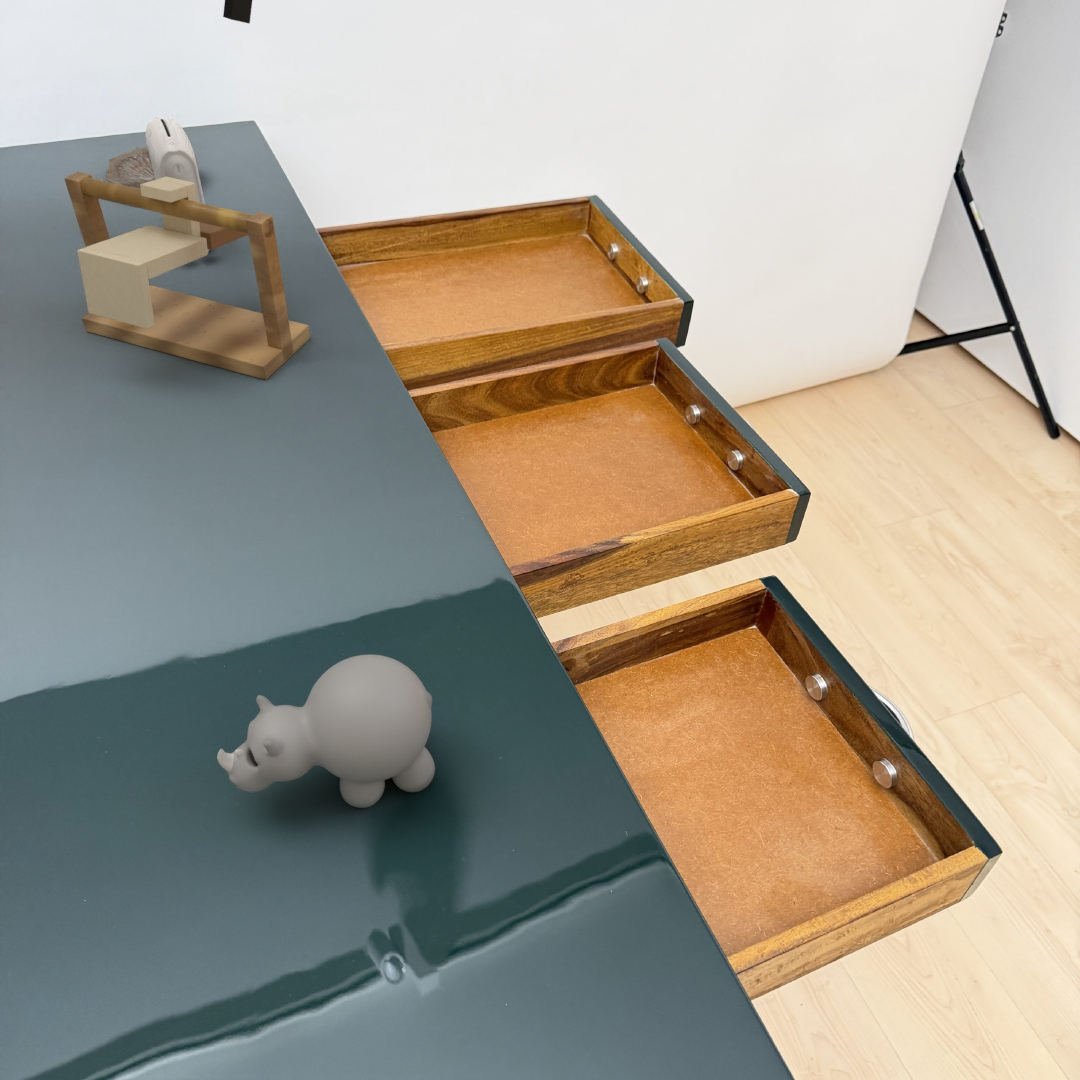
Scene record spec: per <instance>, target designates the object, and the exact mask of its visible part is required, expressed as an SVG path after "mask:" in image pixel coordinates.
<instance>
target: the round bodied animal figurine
mask: <svg viewBox="0 0 1080 1080" xmlns="http://www.w3.org/2000/svg"><path fill="white" fill-rule="evenodd" d="M255 701H256V704H257V706H258V708H259V713H258V714H257V715H256V716H255V718H254V719H252V720H251V721H250V722H249V724H248V728H247V735H246V740H245V741H244V742H243V743H242V744H241V745H239V746H238V747H237V748H236V749H235V750H234V751H232V752H230V753H229V752H226V751H224V749H223V748H220V749H219V751H218V752H217V755H216V756H217V757H216V759H217V763H218V764H219V765H220V767H221V768H222V769H224V770H225V771H226V773H227V775H228V779H229V781H230V782H231V783H232V784H233V785H234V786H235V787H236V788H237V789H239V790H241V791H242V792H245V793H256V792H261V791H263V790H266V789H267V788H269V787H270V786H271V785H272V784H274V783H277V782H292V781H294V780H297V779H300V778H301V777H303V776H304V775H306V774H307V773H308V772H310V770H311V769H312V768H314V767H321V768H324V769H325V770H327V771H328V772H330V774H332V775H334V776H335V777H337V778H339V791H340V794H341V797H342V799H343V800H344V801H345V803H347V804H348V805H350V806H352V807H354V808H359V809H366V808H369V807H372V806H374V805H375V804H376V803H377V802H378V801H379V800H380V799H381V798H382V796H383V795H384V792H385V788H386V781H387V780H389V779H392V781H393V782H394V784H395V785H396V786H397V788H399V790H402V791H404V792H408V793H418V792H421V791H423V790H424V789H426V788H427V787H428V786H429V785H430V783H432V781H433V779H434V776H435V772H436V766H435V762H434V758H433V756H432V755H431V753H430V751H429V750H428V749H427V747H426V745H427V741H428V739H429V735H430V732H431V727H432V720H433V719H432V716H433V715H432V705H433V697H432V694H431V693H430V692H429V691H427V690H426V688H425V686H424V684H423V682H422V681H421V679H420V678H419V677H418V675H417V674H416V673H415V672H414V671H413V670H412V669H410V667H408V666H407V665H405V664H404V663H402V662H400V661H399V660H397V659H395V658H391V657H390V656H385V655H381V654H359V655H355V656H350V657H348V658H345V659H342V660H341V661H339V662H336V663H335V664H334V665H332V666H331V667H329V668H328V669H327V670H326V671H324V673H322V674H321V675H320V677H319V678H318V679H317V680H316V681H315V683H314V684H313V686H312V688H311V690H310V692H309V694H308V697H307V699H306V701H305V703H304V705H302V706H295V705H292V704H291V705H290V704H279V705H274V704H273V703H272V702H271V700H269V698H267V697H266V696H264V695H260V694H257V696H256V699H255ZM385 780H386V781H385Z"/></svg>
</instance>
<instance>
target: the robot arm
mask: <svg viewBox="0 0 1080 1080" xmlns="http://www.w3.org/2000/svg"><path fill="white" fill-rule="evenodd" d="M252 6H253V0H224V4H223V14H222V15H223V16H222V17H223V18H225V19H228V20H231V21H235V22H241V23H246V24H250V23H251V14H252V9H253V7H252Z"/></svg>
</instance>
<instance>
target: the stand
mask: <svg viewBox="0 0 1080 1080" xmlns="http://www.w3.org/2000/svg"><path fill="white" fill-rule="evenodd" d="M64 182H65V186H66V188H67V192H68V195H69V198H70V201H71V205H72V209H73V211H74V213H75V214H74V215H75V218H76V220H77V224H78V227H79V230H80V234H81V238H82V240H83V243H84V245H85V247H87V246H90V245H93V244H96V243H99V242H102V241H105V240H108V239H110V237H111V236H110V234H109V230H108V227H107V224H106V221H105V217H104V214H103V211H102V207H101V203H100V200H103V201H107V202H111V203H115V204H119V205H124V206H129V207H133V208H136V209H141V210H146V211H150V212H154V213H158V214H161V215H162V214H166V215H171V216H175V217H179V218H184V219H188V220H192V221H196V222H201V223H205V224H209V225H214V226H218V227H222V228H226V229H231V230H235V231H239V232H244V233H248V234H249V235H248V239H249V245H250V251H251V257H252V262H253V263H252V264H253V269H254V273H255V279H256V285H257V291H258V296H259V301H260V308H261V312H259V311H254V310H250V309H246V308H242V307H238V306H235V305H230V304H226V303H222V302H219V301H214V300H210V299H207V298H202V297H199V296H195V295H191V294H187V293H183V292H180V291H175V290H171V289H167V288H165V287H164V288H163V287H161V286H155V285H151V284H149V287H150V294H151V302H152V309H153V316H154V323H155V325H154V326H152V327H150V328H148V329H146V328H142V327H139V326H135V325H131V324H127V323H124V322H120V321H116V320H112V319H109V318H105V317H101V316H97V315H93V314H90V313H89V312H87V313H86V314H85V315H83V316H81V322H82V324H83V327H84V331H85V332H88V333H91V334H95V335H98V336H101V337H106V338H109V339H113V340H117V341H121V342H124V343H127V344H132V345H135V346H139V347H143V348H145V349H146V348H147V349H150V350H154V351H158V352H161V353H165V354H168V355H172V356H176V357H180V358H184V359H187V360H191V361H194V362H198V363H202V364H205V365H210V366H213V367H216V368H220V369H224V370H228V371H232V372H236V373H239V374H242V375H247V376H250V377H254V378H256V379H257V378H258V379H261V380H264V381H266V380H268V379H269V378H270V377H271V376H272V375H274V374H275V372H277V370H279V369H280V368H281V367H283V365H284V364H285V363H286V362H287V361H288V360H289V359H290V358H291V357H292V356H293V355H295V354H296V353H297V352H298V351H299V350H300V349H301V348H302V347H303V346H304V345H305V344H306V343H307V342H308V341H309V340H311V333H310V325H309V324H306V323H301V322H298V321H295V320H294V321H293V320H289V315H288V308H287V307H288V306H287V301H286V294H285V288H284V283H283V275H282V274H283V273H282V268H281V263H280V255H279V250H278V242H277V236H276V229H275V223H274V217H273V214H268V213H265V212H259V211H257V212H256V213H254V214H251V213H246V212H242V211H239V210H234V209H229V208H225V207H221V206H215V205H211V204H207V203H205V204H203V203H199V202H194V201H190V200H186V199H181V200H178V201H175V202H171V203H170V202H166V201H162V200H157V199H153V198H149V197H144V196H142V194H141V189H137V188H133V187H129V186H124V185H120V184H116V183H111V182H108V181H107V180H102V179H97V178H93V176H92V174H91V173H87V172H82V171H78V170H77V171H76V172H74V173H71V174H70V175H68V176H66V177H64ZM85 247H84V248H85Z"/></svg>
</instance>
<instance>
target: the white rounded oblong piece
mask: <svg viewBox="0 0 1080 1080" xmlns="http://www.w3.org/2000/svg"><path fill="white" fill-rule="evenodd" d="M144 135H145V137H144V138H145V141H146V146H147V147H148V150H149V154H150V158H151V163H152V167H153V171H154V175H155V179H156V180H157V179H160V178H163V177H171V178H175V179H180V180H184V181H188V182H193V183H195V185H196V195H197V202H199V203H203V204H206V201H205V198H204V193H203V187H202V183H201V178H200V173H199V169H198V162H197V163H196V158H197V157H196V158H195V155H196V154H195V155H194V153H195V152H194V149H193V145H192V144H191V143H192V142H191V141H190V139H189V136H188V135H187V133H186V132H185V130H184V129H183V127H182V126H181V125H180V124H179V123H178V122H177V121H176V120H174V119H173V118H170V117H167V116H164V117H162V118H161V117H154V118H152V119H151V120H150V121H149V122H148V124H147V125H146V129H145V133H144ZM207 250H208V253H209V252H210V250H209V249H207Z"/></svg>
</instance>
